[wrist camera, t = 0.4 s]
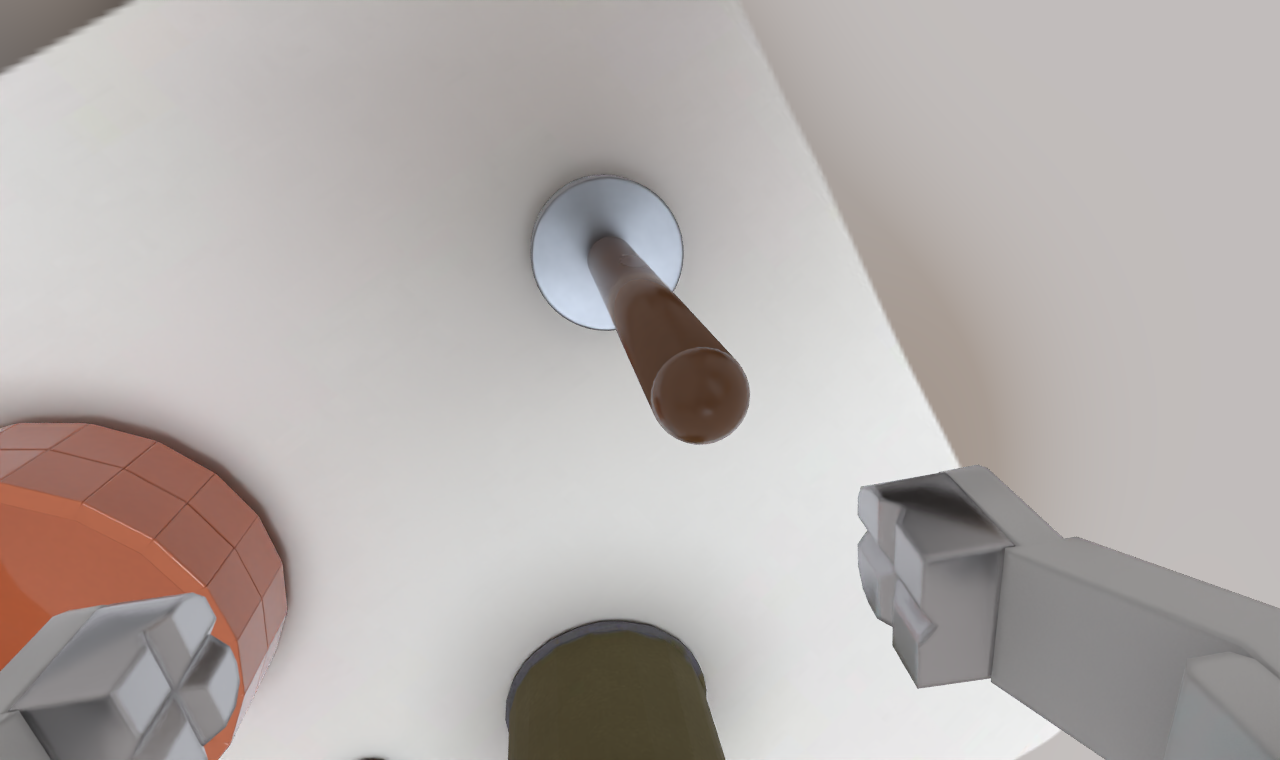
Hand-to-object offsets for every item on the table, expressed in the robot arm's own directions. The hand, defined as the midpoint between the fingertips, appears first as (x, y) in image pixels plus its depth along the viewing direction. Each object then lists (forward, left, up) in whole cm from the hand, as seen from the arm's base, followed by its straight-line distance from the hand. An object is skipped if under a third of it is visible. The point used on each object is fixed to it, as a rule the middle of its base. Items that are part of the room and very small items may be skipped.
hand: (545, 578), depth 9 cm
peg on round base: (0, +3, -22) cm, 22 cm away
